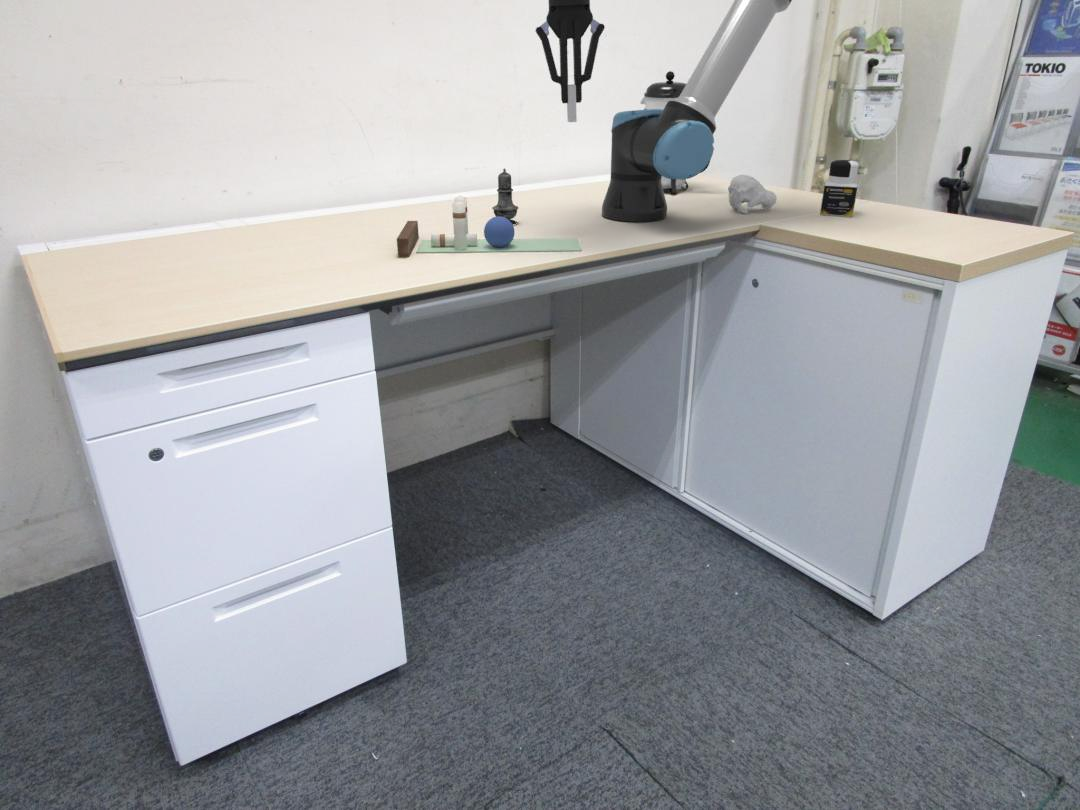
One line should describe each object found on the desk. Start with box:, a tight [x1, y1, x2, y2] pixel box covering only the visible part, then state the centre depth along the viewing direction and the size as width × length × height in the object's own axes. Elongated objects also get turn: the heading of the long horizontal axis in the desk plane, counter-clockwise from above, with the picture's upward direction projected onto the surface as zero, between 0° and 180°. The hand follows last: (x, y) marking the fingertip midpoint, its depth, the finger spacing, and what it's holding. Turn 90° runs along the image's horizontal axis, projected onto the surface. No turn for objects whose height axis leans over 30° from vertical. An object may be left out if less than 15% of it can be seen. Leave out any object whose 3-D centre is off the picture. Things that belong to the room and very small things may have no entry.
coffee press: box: [640, 70, 711, 196], centre depth 199 cm, size 17×16×30 cm
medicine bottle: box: [819, 159, 860, 218], centre depth 174 cm, size 7×7×12 cm
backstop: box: [396, 220, 420, 258], centre depth 148 cm, size 2×16×4 cm, turn 2°
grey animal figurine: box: [727, 174, 777, 215], centre depth 178 cm, size 6×8×12 cm
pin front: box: [430, 233, 478, 247], centre depth 148 cm, size 2×2×9 cm
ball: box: [483, 216, 515, 248], centre depth 147 cm, size 6×6×6 cm
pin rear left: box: [451, 201, 467, 250], centre depth 144 cm, size 2×2×9 cm
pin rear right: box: [454, 196, 469, 234], centre depth 149 cm, size 2×2×9 cm
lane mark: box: [415, 237, 582, 254], centre depth 149 cm, size 32×10×1 cm, turn 92°
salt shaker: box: [491, 168, 519, 226], centre depth 165 cm, size 6×6×12 cm
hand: (572, 121), depth 145 cm, fingers closed
